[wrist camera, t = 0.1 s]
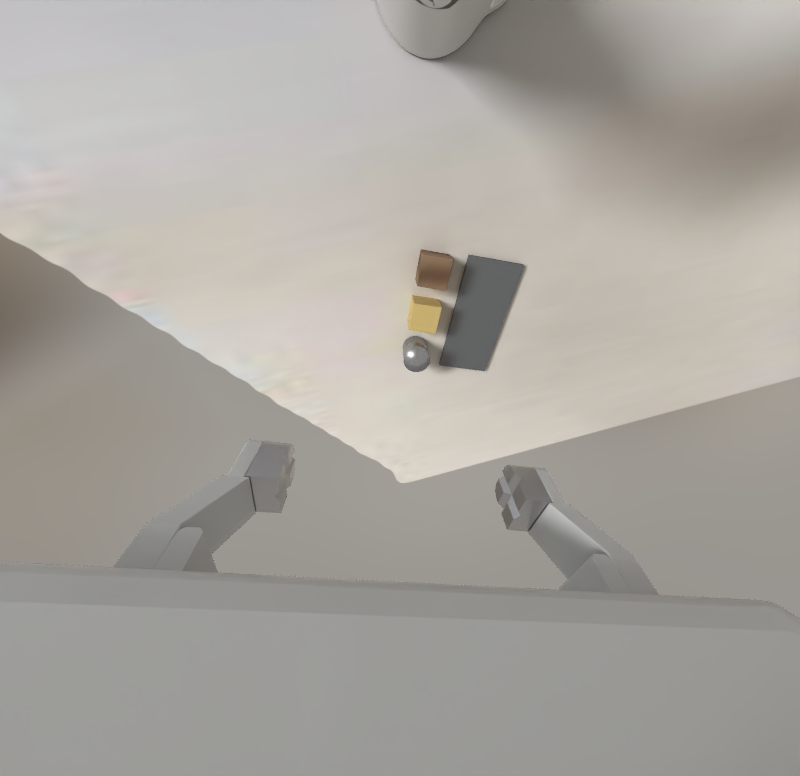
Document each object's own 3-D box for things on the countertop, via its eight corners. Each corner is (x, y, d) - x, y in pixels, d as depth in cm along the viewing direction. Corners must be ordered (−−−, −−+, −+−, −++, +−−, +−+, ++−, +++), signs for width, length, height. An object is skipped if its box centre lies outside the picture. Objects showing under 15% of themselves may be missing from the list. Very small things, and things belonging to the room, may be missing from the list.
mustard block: (412, 295, 55) (414, 303, 51) (438, 299, 56) (441, 307, 52) (407, 320, 58) (409, 330, 54) (432, 323, 59) (435, 333, 54)
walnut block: (420, 249, 51) (423, 254, 47) (448, 254, 52) (453, 259, 47) (415, 278, 54) (417, 286, 50) (441, 283, 54) (446, 290, 50)
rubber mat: (468, 254, 51) (469, 255, 51) (522, 264, 53) (523, 265, 52) (439, 363, 63) (439, 365, 63) (483, 369, 65) (484, 371, 64)
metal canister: (405, 334, 60) (406, 347, 55) (429, 337, 60) (432, 350, 55) (401, 355, 62) (401, 370, 57) (424, 359, 63) (426, 373, 58)
